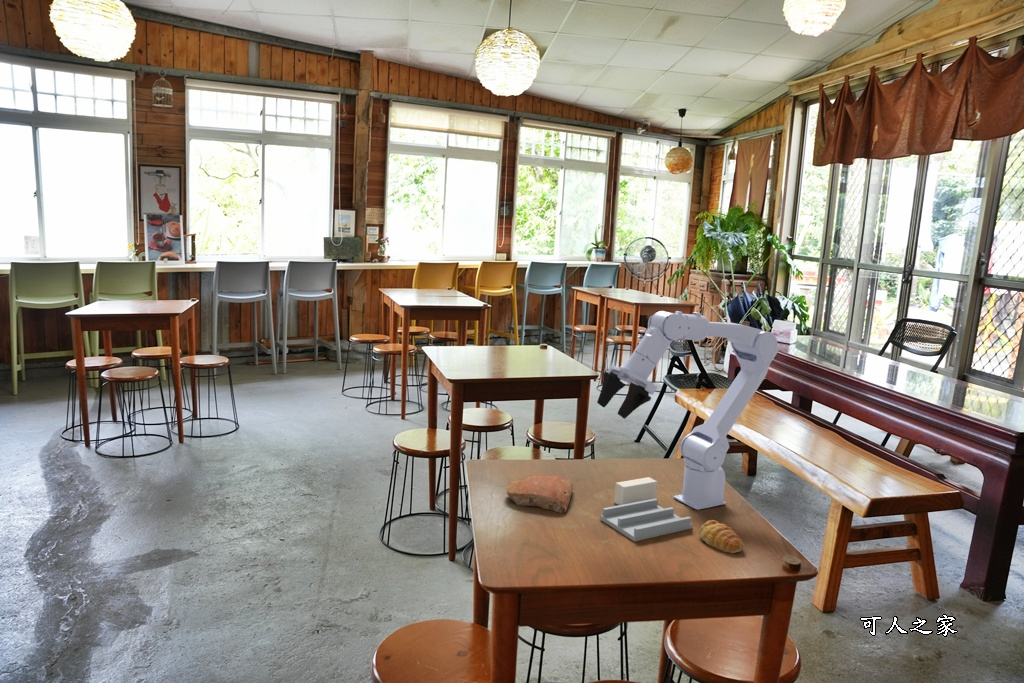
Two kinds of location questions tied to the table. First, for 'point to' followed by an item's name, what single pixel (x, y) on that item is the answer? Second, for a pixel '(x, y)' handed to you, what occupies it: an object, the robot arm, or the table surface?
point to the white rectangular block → (635, 491)
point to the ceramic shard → (541, 492)
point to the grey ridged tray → (644, 520)
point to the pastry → (720, 537)
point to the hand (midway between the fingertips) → (610, 410)
